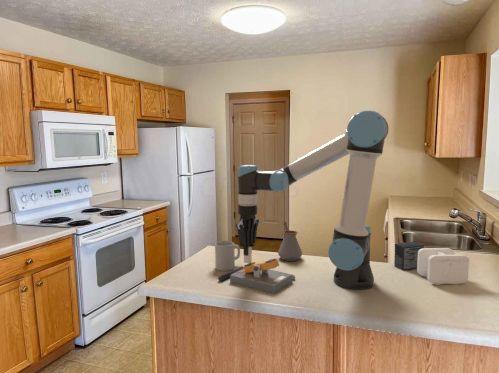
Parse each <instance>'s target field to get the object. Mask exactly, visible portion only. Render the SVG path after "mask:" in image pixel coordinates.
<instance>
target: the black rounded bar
mask: <svg viewBox="0 0 499 373" xmlns="http://www.w3.org/2000/svg"><path fill="white" fill-rule="evenodd" d="M242 269H244V265H243V266H242V265H241V266H239V267H237V268H236V267H235V268H234V269H232V270H229V271H227V272H226V273H223V274H222V275H219V276H218V278H217V280H218V281H219V282H222V281H225V280H227V279H230V275H231V274H233V273H235V272H238V271H240V270H242Z"/></svg>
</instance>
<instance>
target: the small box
mask: <svg viewBox="0 0 499 373" xmlns="http://www.w3.org/2000/svg"><path fill="white" fill-rule="evenodd" d="M422 248H425V245H424V244H423V243H419V242H416V241H409V242H398V243H397V242H396V243H394V264H393V265H394V267H395V268H397V269H399V270H401V271H402V272H403V271H412V270H417V260H418V251H419V250H420V249H422Z"/></svg>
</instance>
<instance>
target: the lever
mask: <svg viewBox="0 0 499 373" xmlns="http://www.w3.org/2000/svg"><path fill="white" fill-rule="evenodd" d="M263 261H264V262H262V261H260V262H255V261H254V262H252V263H246V264H245V265H243V267H244V270H245V273H248V272H254V265H259V266H260V271H261V270H267V269H270V270H274V269H275V268H277V267H279V266H280V263H279V259H277V258H271V259H268V260H263Z"/></svg>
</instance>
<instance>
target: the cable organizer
mask: <svg viewBox="0 0 499 373" xmlns="http://www.w3.org/2000/svg"><path fill="white" fill-rule="evenodd" d="M469 269H470V258H469V257H468V256H467V255H465V254H460V253H459V254H455V250H453V249H452V248H449V247H437V248H436V247H434V248H433V247H432V248H431V247H428V248H427V247H424V248H422V249H420V250H419V251H418V260H417V269H416V272H417V274H419V276H421V277H424V278H427V280H428V282H430V283H431V284H433V285H440V286H441V285H446V284H449V285H450V284H451V285H460V284H465V283H466V282H468V280H469V271H470V270H469Z"/></svg>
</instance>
